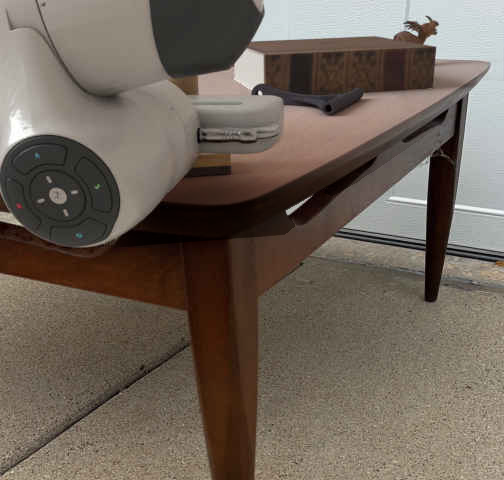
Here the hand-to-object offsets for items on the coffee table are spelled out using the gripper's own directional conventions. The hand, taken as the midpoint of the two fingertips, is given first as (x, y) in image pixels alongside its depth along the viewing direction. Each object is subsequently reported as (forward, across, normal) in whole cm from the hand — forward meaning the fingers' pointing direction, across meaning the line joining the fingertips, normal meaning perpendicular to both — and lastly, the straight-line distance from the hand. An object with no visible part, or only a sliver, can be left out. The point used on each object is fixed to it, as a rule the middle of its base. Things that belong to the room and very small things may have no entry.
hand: (184, 105), depth 65 cm
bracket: (+37, -8, +6) cm, 39 cm away
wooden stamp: (-1, 0, +6) cm, 6 cm away
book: (+59, -10, +6) cm, 61 cm away
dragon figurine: (+85, -25, +6) cm, 89 cm away
